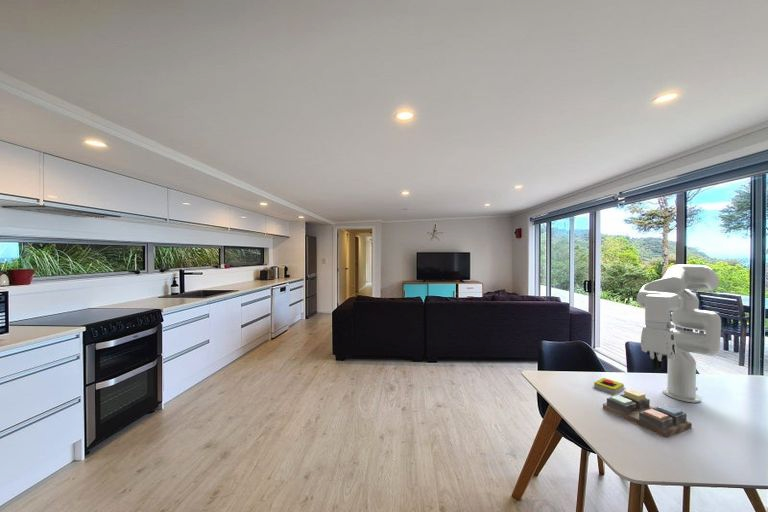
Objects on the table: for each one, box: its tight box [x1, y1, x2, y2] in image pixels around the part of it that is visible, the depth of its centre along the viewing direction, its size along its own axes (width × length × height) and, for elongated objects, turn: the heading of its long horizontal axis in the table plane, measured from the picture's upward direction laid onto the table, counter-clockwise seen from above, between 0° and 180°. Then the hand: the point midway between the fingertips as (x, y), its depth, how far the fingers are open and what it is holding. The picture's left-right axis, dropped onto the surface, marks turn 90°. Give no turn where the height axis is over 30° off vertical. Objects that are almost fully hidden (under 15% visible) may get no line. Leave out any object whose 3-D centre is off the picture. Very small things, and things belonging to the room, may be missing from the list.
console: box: [602, 393, 693, 438], centre depth 121 cm, size 17×22×5 cm
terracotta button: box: [644, 409, 668, 421], centre depth 114 cm, size 5×5×3 cm
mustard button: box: [623, 388, 646, 401], centre depth 128 cm, size 5×5×3 cm
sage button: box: [611, 394, 632, 405], centre depth 125 cm, size 5×5×3 cm
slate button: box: [657, 404, 683, 416], centre depth 117 cm, size 5×5×3 cm
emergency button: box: [592, 377, 627, 396], centre depth 148 cm, size 9×4×15 cm
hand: (657, 368), depth 120 cm, fingers closed
